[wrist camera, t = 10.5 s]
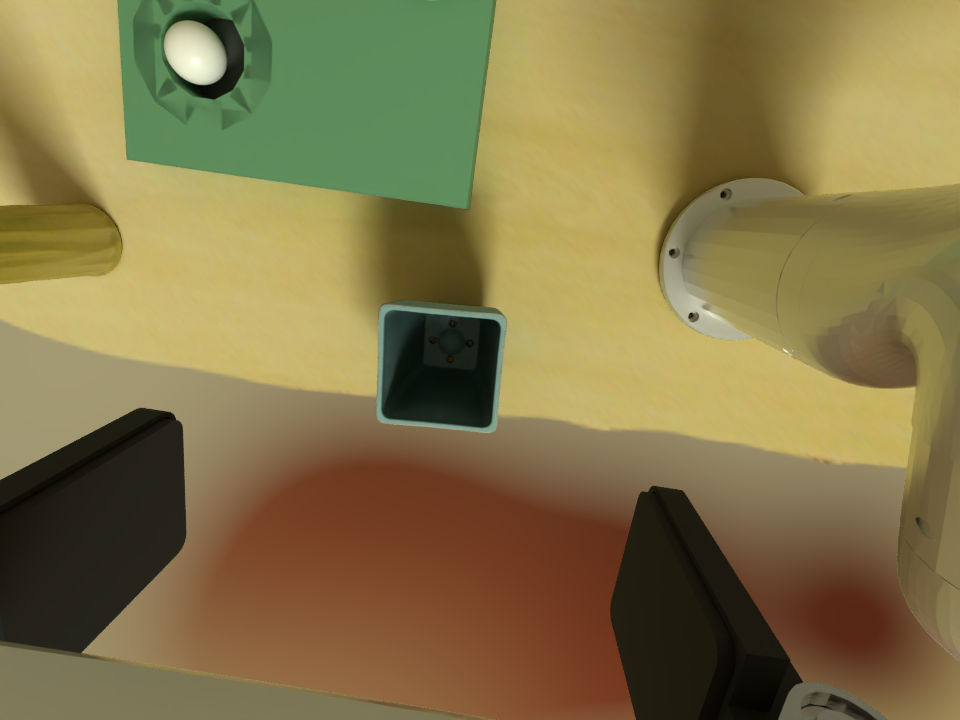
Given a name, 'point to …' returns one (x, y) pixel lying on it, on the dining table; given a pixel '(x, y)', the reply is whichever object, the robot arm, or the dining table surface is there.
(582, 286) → the dining table surface
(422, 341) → the flower pot
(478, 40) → the putting mat
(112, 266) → the vase
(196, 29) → the white ball
